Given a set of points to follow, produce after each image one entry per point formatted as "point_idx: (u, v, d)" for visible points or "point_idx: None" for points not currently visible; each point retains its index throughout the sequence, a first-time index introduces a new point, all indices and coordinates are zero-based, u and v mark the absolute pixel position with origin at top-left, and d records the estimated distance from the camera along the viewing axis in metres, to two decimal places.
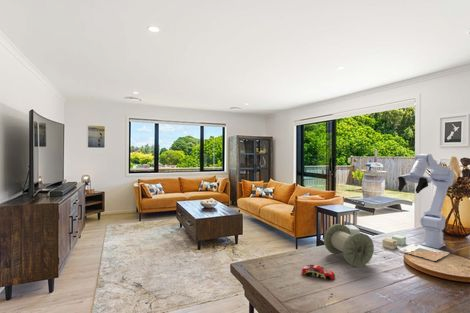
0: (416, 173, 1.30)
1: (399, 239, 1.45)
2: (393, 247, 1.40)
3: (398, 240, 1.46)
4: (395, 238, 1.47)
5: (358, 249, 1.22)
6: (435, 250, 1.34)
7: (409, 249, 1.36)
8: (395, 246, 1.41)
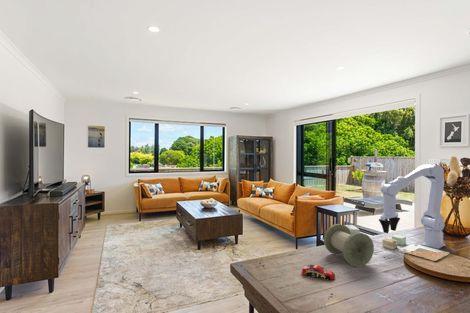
0: (383, 213, 1.44)
1: (399, 239, 1.45)
2: (393, 247, 1.40)
3: (398, 240, 1.46)
4: (395, 238, 1.47)
5: (358, 249, 1.22)
6: (435, 250, 1.34)
7: (409, 249, 1.36)
8: (395, 246, 1.41)
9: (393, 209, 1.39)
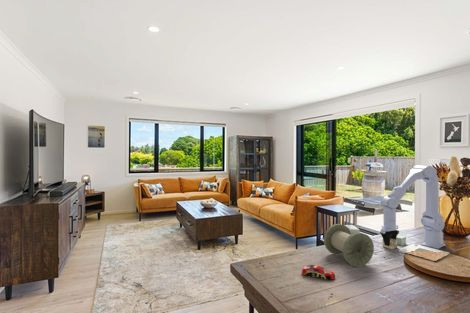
0: None
1: (399, 239, 1.45)
2: (393, 247, 1.40)
3: (398, 240, 1.46)
4: None
5: (358, 249, 1.22)
6: (435, 250, 1.34)
7: (409, 249, 1.36)
8: (395, 246, 1.41)
9: (393, 222, 1.40)
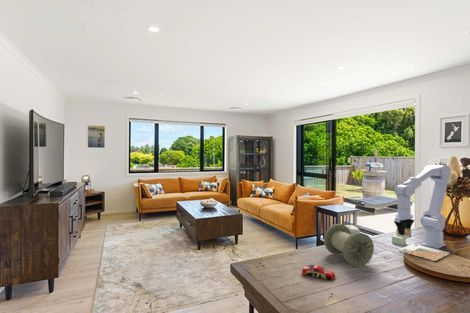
0: None
1: (399, 239, 1.45)
2: (408, 236, 1.36)
3: (398, 240, 1.46)
4: (395, 238, 1.47)
5: (358, 249, 1.22)
6: (435, 250, 1.34)
7: (409, 249, 1.36)
8: (410, 235, 1.37)
9: (408, 211, 1.36)
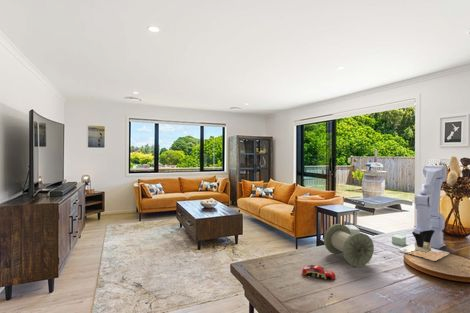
0: (416, 225, 1.35)
1: (399, 239, 1.45)
2: (427, 250, 1.31)
3: (398, 240, 1.46)
4: (395, 238, 1.47)
5: (358, 249, 1.22)
6: (435, 250, 1.34)
7: (409, 249, 1.36)
8: (429, 249, 1.32)
9: (428, 221, 1.31)
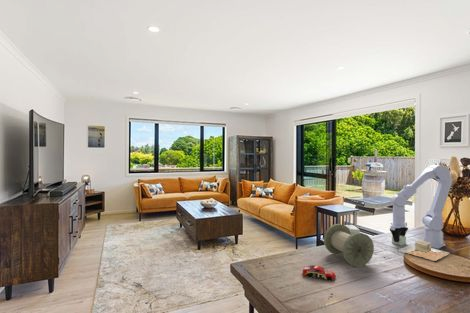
0: None
1: (399, 239, 1.45)
2: (427, 250, 1.31)
3: None
4: None
5: (358, 249, 1.22)
6: (435, 250, 1.34)
7: (409, 249, 1.36)
8: (429, 249, 1.32)
9: (402, 219, 1.45)
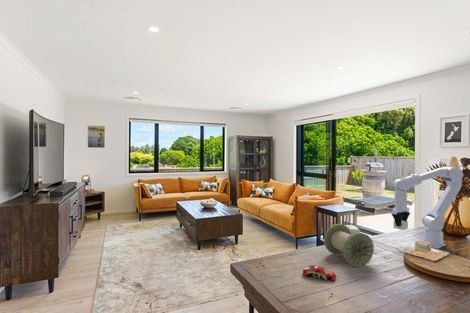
0: None
1: (401, 223, 1.44)
2: (427, 250, 1.31)
3: None
4: None
5: (358, 249, 1.22)
6: (435, 250, 1.34)
7: (409, 249, 1.36)
8: (429, 249, 1.32)
9: (404, 203, 1.44)
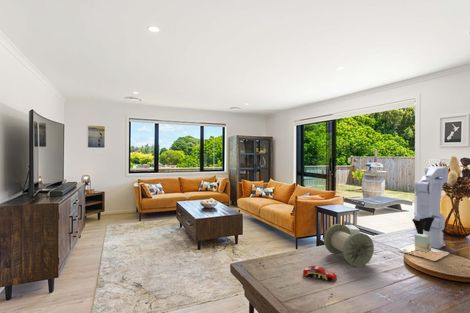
0: None
1: (423, 238, 1.31)
2: (427, 250, 1.31)
3: (422, 239, 1.32)
4: (418, 237, 1.33)
5: (358, 249, 1.22)
6: (435, 250, 1.34)
7: (409, 249, 1.36)
8: (429, 249, 1.32)
9: (428, 208, 1.30)
